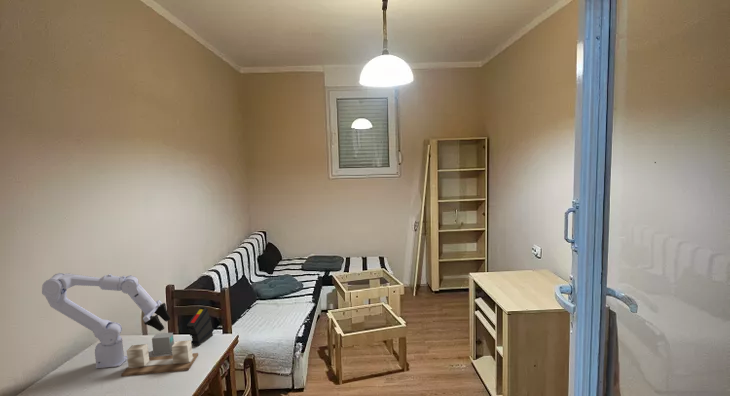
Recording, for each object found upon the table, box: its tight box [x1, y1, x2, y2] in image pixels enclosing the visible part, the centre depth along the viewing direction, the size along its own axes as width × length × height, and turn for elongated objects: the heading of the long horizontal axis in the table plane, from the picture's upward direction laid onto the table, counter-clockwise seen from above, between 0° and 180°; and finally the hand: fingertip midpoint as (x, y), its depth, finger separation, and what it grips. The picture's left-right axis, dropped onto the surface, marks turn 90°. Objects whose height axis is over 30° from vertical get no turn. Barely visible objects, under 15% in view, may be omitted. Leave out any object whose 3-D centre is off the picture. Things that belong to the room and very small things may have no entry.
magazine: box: [186, 306, 215, 347], centre depth 183 cm, size 4×13×15 cm, turn 166°
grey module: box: [151, 332, 175, 355], centre depth 176 cm, size 7×4×7 cm, turn 95°
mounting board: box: [120, 339, 199, 377], centre depth 163 cm, size 25×12×8 cm, turn 95°
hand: (165, 324), depth 173 cm, fingers open, 7 cm apart
